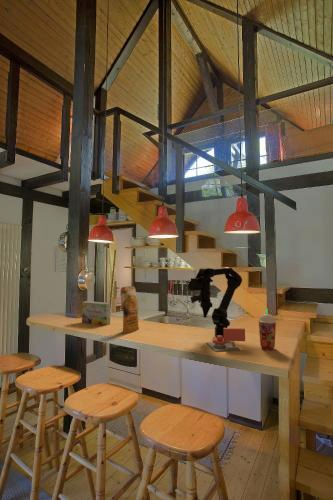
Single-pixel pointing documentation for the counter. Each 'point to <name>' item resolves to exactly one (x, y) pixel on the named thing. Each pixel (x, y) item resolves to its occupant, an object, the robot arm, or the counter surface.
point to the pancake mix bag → (129, 309)
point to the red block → (230, 335)
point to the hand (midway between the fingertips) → (204, 317)
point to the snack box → (96, 313)
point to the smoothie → (267, 331)
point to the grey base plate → (223, 346)
